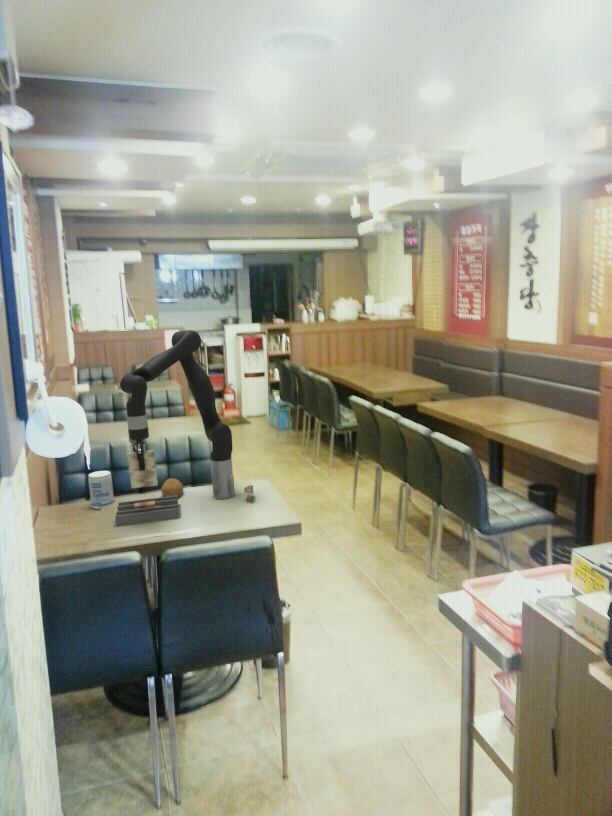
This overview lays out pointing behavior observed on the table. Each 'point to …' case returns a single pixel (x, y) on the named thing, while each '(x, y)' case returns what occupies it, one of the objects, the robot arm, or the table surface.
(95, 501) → the supplement tub
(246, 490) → the mottled beige figurine
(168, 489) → the potato
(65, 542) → the table surface
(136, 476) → the sheet
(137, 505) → the offcut upper
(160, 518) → the rack
